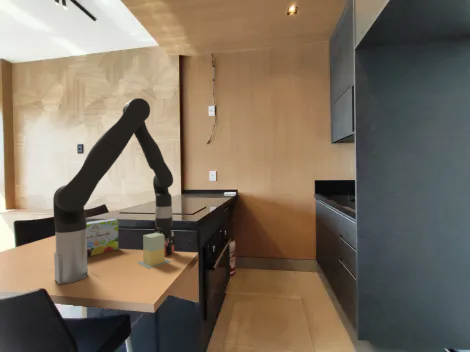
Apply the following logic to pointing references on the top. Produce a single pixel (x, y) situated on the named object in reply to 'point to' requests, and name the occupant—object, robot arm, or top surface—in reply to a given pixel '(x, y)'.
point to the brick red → (165, 248)
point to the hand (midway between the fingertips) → (164, 252)
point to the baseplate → (153, 265)
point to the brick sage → (153, 242)
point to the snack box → (102, 236)
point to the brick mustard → (153, 257)
